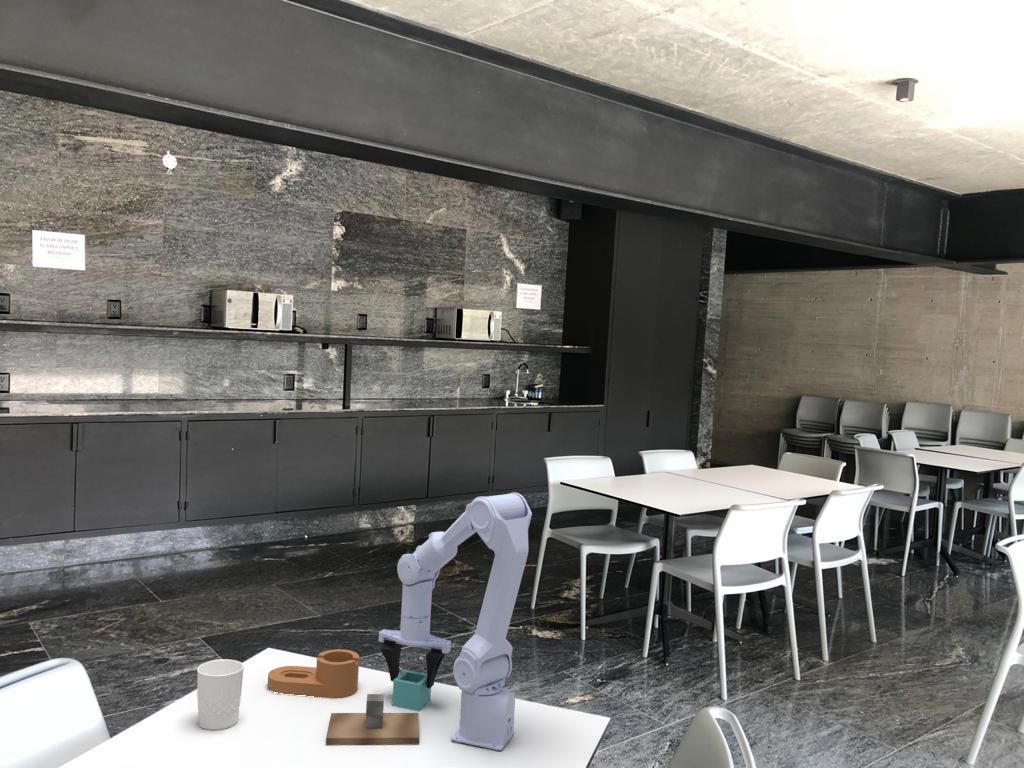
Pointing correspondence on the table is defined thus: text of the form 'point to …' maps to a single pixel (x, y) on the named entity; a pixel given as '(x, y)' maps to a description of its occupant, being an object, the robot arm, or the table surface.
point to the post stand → (373, 726)
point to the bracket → (319, 676)
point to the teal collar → (410, 690)
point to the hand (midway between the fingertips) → (412, 682)
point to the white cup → (219, 693)
